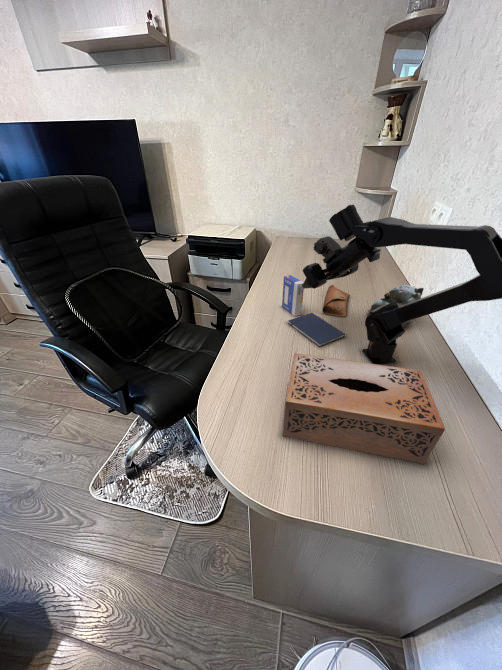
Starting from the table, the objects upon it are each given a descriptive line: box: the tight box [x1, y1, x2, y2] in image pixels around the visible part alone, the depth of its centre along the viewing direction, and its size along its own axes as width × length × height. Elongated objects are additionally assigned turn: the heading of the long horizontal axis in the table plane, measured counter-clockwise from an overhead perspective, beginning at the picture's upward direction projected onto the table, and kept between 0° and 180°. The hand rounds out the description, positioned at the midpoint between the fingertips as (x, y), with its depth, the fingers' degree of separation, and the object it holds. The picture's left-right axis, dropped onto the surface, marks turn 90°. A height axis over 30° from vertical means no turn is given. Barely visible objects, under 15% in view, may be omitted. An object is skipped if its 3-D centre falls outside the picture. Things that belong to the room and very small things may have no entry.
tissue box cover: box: [282, 352, 446, 465], centre depth 56 cm, size 26×14×10 cm, turn 76°
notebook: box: [287, 312, 346, 348], centre depth 87 cm, size 15×10×1 cm
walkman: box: [281, 274, 305, 317], centre depth 94 cm, size 8×3×12 cm, turn 29°
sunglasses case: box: [322, 284, 350, 318], centre depth 100 cm, size 18×7×7 cm
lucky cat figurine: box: [366, 284, 425, 328], centre depth 89 cm, size 15×12×14 cm
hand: (313, 283), depth 85 cm, fingers open, 9 cm apart
